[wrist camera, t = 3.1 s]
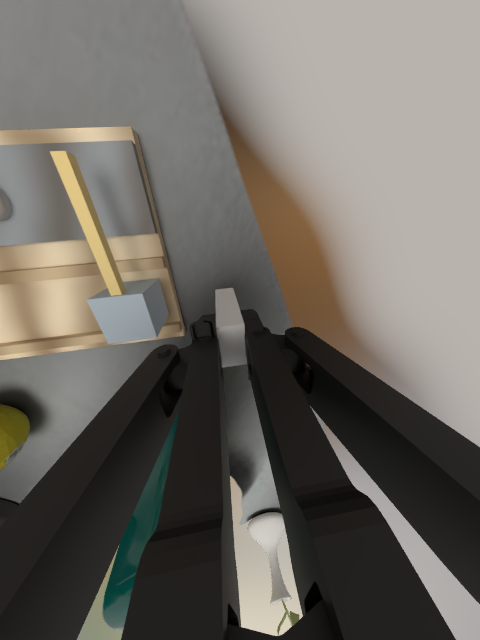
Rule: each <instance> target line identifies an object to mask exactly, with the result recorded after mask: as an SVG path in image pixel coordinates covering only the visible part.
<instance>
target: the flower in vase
mask: <svg viewBox="0 0 480 640" xmlns="http://www.w3.org/2000/svg"><path fill="white" fill-rule="evenodd" d="M247 529H248V532H249V534H250V535H251V536H252V537H253V538H254V539H255V540H256V541H257V542H258V543H259V544H260V545H262V547H263V548H264V549H265V550H266V552H267V554H268V558H269V562H270V568H271V576H272V598H271V602H270V603H271V604H272V605H274V604H279V603H283V605H284V608H285V610H286V612H285V614H284V617H283V619H282V621H281V622H280V624H279V626H278V634H279V630H280V626H281V625H282V623H283V622H284V620H285V618H286V614H288V617H289V619H290V621H291V624H292V626H293V625H294V624H295V623H296V622H298V621H299V615H298V614H295V613H293V612H291V611H290V615H289V613H288V611H287V608H286V606H285V603H284V602H286V601H288V600H290V599H291V598H292V597H291V596H290V594H289V593H288V591H287V589H286V587H285V585H284V582H283V579H282V575H281V572H280V568H279V563H278V558H277V546H278V543H279V540H280V538H281V536H282V534H283V531H284V529H285V525H284V521H283V516H282V514H281V513H277V512H269V513H264V514H261V515H258V516H256V517H255V518H253V519H252V520H251V521H250V522H249V524H248V527H247Z"/></svg>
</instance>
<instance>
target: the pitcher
mask: <svg viewBox="0 0 480 640" xmlns="http://www.w3.org/2000/svg"><path fill="white" fill-rule="evenodd" d="M178 414H179V412H178ZM178 414H177V416H176V418H175V421H174V423H173V425H172V427H171V430H170V432H169V434H168V436H167V439H166V441H165V443H164V445H163V448H162V450H161V452H160V454H159V456H158V459H157V461H156V463H155V465H154V468H153V470H152V472H151V474H150V477H149V479H148V481H147V483H146V486H145V488H144V490H143V492H142V494H141V497H140V499H139V501H138V503H137V506H136V508H135V510H134V512H133V515H132V517H131V519H130V521H129V524H128V526H127V528H126V530H125V532H124V535H123V537H122V539H121V541H120V544H119V548H118V551H117V554H116V558H115V561H114V564H113V568H112V571H111V574H110V578H109V582H108V585H107V588H106V591H105V595H104V601H103V611H102V614H103V620H104V622H105V623H106V624H107V625H108V626H109V627H110V628H112V629H114V630H123V629H124V624H125V620H126V616H127V611H128V607H129V602H130V598H131V593H132V589H133V584H134V580H135V576H136V573H137V569H138V565H139V562H140V558H141V555H142V553H143V550H144V548H145V545H146V543H147V542H148V540H149V539H150V538H151V536H152V535H153V534H154V532H155V529H156V527H157V524H158V519H159V515H160V510H161V505H162V499H163V494H164V489H165V483H166V478H167V473H168V467H169V462H170V457H171V452H172V446H173V441H174V436H175V430H176V425H177V420H178Z"/></svg>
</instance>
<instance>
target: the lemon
mask: <svg viewBox="0 0 480 640" xmlns="http://www.w3.org/2000/svg"><path fill="white" fill-rule="evenodd" d="M29 431H30V423H29V420H28V418H27V416H26V415H25V414H24V413H23V412H21V411H20V410H18V409H16V408H14V407H11V406H7V405H0V470H1V469H2V468H4V467H5V466H6V465H7V464H8V463H9V462H10V461H11V460H12V459H14V458H15V456H16V455H17V454H18V453H19V451H20V450H21V449H22V447H23V445H24V443H25V442H26V440H27V437H28V434H29Z"/></svg>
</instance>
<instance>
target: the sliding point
mask: <svg viewBox="0 0 480 640" xmlns="http://www.w3.org/2000/svg"><path fill="white" fill-rule="evenodd" d="M50 153H51V156H52V158H53V160H54V163H55V165H56V167H57V170H58V172H59V174H60V177H61V179H62V182H63V184H64V186H65V189H66V191H67V193H68V196H69V198H70V200H71V203H72V205H73V207H74V210H75V212H76V215H77V217H78V219H79V222H80V224H81V226H82V229H83V231H84V233H85V236H86V238H87V241H88V243H89V245H90V248H91V250H92V252H93V255H94V257H95V259H96V262H97V264H98V266H99V269H100V271H101V274H102V276H103V278H104V281H105V283H106V285H107V288H106V289H105V290H103V291H101V292H99V293H97V294H96V295H94V296H92V297H90V298H88V299H87V302H88V304H89V306H90V308H91V310H92V312H93V314H94V316H95V318H96V320H97V322H98V324H99V326H100V328H101V330H102V332H103V334H104V336H105V338H106V340H107V343H108V344H113V343H121V342H128V341H136V340H143V339H151V338H157V337H158V335H159V333H160V331H161V329H162V327H163V325H164V323H165V321H166V319H167V317H168V315H169V313H168V309H167V306H166V302H165V299H164V295H163V292H162V288H161V285H160V281H159V278H157V279H148V280H138V281H128V282H123V281H122V279H121V276H120V273H119V271H118V268H117V266H116V263H115V260H114V258H113V255H112V252H111V250H110V247H109V244H108V242H107V239H106V236H105V234H104V231H103V229H102V226H101V223H100V221H99V218H98V215H97V213H96V210H95V207H94V205H93V202H92V199H91V197H90V194H89V191H88V189H87V186H86V184H85V181H84V178H83V176H82V173H81V170H80V168H79V165H78V162H77V160H76V157H75V156H74V155H72V154H71V153H69V152H67V151H50Z"/></svg>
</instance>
